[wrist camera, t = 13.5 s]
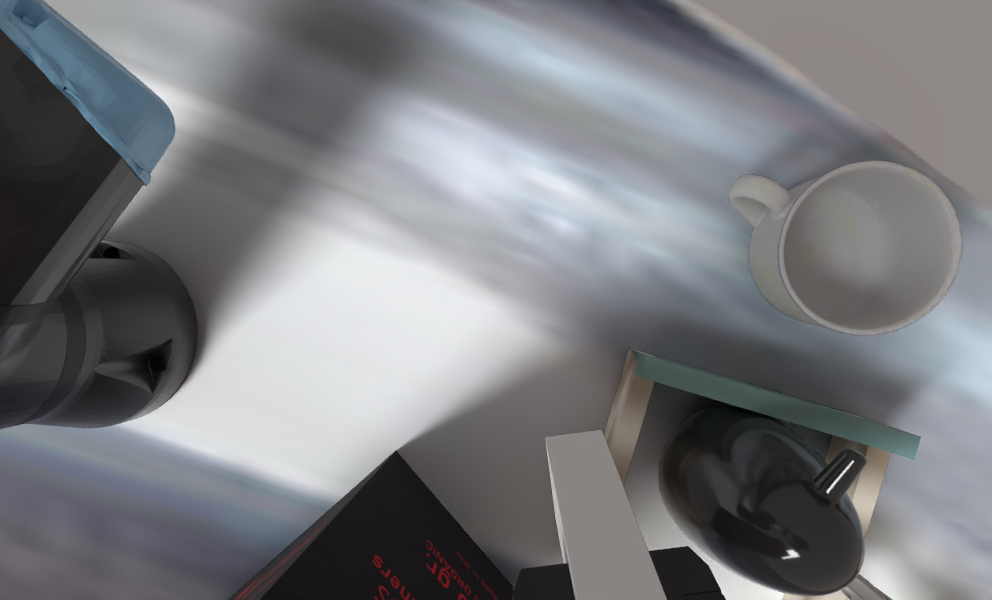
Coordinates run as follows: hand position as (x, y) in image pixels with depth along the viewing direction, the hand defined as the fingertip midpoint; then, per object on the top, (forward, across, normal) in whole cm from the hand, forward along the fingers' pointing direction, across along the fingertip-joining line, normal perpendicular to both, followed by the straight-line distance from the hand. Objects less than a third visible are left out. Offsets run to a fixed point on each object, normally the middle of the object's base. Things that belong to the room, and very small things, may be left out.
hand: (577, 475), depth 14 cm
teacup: (+26, +21, -3) cm, 34 cm away
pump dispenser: (+21, +13, -18) cm, 31 cm away
